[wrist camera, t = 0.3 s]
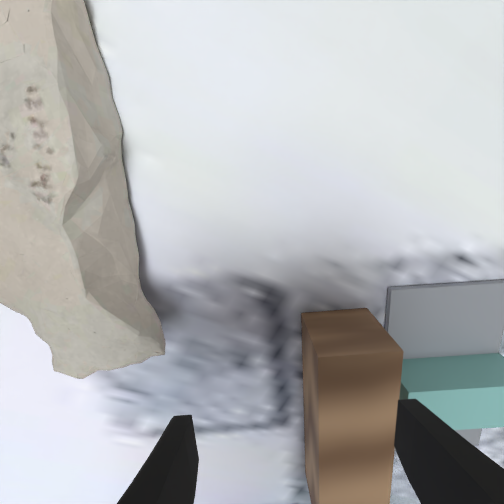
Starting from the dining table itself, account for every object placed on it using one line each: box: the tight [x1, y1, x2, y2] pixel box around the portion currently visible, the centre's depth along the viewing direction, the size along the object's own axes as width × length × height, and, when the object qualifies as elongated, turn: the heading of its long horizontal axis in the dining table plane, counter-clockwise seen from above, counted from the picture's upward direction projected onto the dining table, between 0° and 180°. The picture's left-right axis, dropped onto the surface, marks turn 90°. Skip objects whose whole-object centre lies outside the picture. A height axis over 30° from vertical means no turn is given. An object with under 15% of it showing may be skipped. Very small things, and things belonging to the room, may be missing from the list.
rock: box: [0, 0, 165, 379], centre depth 15 cm, size 21×5×15 cm
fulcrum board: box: [385, 280, 504, 451], centre depth 19 cm, size 14×8×4 cm, turn 4°
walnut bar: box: [301, 308, 404, 504], centre depth 19 cm, size 15×4×5 cm, turn 4°
